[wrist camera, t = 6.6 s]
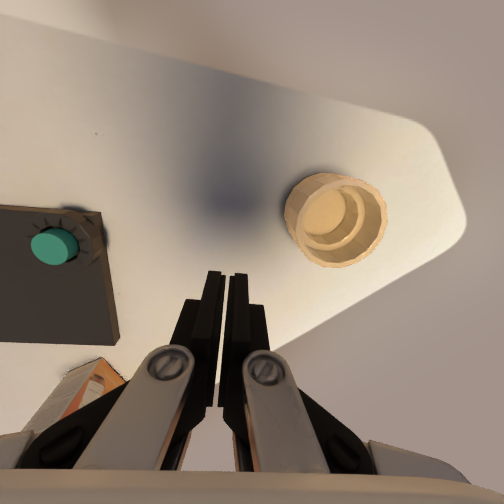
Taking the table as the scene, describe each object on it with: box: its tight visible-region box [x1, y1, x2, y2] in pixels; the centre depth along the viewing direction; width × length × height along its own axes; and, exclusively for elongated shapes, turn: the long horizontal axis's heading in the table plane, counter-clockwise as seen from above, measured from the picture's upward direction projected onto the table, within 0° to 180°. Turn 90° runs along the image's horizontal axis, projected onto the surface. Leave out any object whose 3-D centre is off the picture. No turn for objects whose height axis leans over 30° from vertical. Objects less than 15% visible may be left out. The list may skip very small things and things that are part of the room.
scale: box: [0, 205, 120, 346], centre depth 25 cm, size 16×14×3 cm
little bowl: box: [284, 173, 388, 268], centre depth 22 cm, size 7×7×6 cm
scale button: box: [31, 228, 79, 265], centre depth 22 cm, size 3×3×2 cm
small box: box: [21, 358, 125, 434], centre depth 28 cm, size 8×6×10 cm
